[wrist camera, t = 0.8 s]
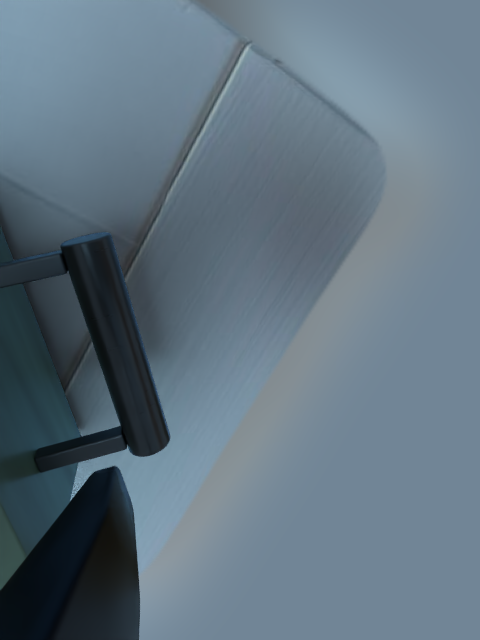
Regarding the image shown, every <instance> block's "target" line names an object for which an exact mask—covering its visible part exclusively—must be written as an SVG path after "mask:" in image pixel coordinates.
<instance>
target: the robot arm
mask: <svg viewBox="0 0 480 640" xmlns="http://www.w3.org/2000/svg"><path fill="white" fill-rule="evenodd" d="M139 622H140V592H139V576H138V563H137V550H136V537H135V524H134V512H133V507H132V502H131V499H130V496H129V494H128V491H127V488H126V485H125V482H124V480H123V477H122V474H121V472H120V470H119V468H118V467H116V466H112V467H109V468H105V469H102V470H98V471H95V472H94V473H93V474H92V475H91V476H90V477H89V478H88V480H87V481H86V482H85V483H84V485H83V486H82V487H81V488H80V490H79V491H78V492H77V494H76V495H75V496H74V497H73V499H72V500H71V501H70V502H69V504H68V505H67V506H66V508H65V509H64V510H63V511H62V513H61V514H60V515H59V516H58V518H57V519H56V520H55V522H54V523H53V524H52V525H51V527H50V528H49V529H48V530H47V532H46V533H45V534H44V536H43V537H42V538H41V539H40V541H39V542H38V543H37V544H36V546H35V547H34V548H33V550H32V551H31V552H30V553H29V555H28V556H27V557H26V558H25V560H24V561H23V562H22V564H21V565H20V566H19V567H18V569H17V570H16V571H15V572H14V574H13V575H12V576H11V578H10V579H9V580H8V581H7V583H6V584H5V585H4V586H3V588H2V589H1V590H0V640H139Z"/></svg>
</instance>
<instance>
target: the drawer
mask: <svg viewBox="0 0 480 640" xmlns="http://www.w3.org/2000/svg"><path fill="white" fill-rule="evenodd" d="M60 248H61V250H58V251H54V252H49V253H45V254H40V255H35V256H31V257H26V258H22V259H17V260H13V257H12V255H11V252H10V249H9V247H8V244H7V242H6V239H5V236H4V234H3V231H2V229H1V226H0V590H1V589H2V588H3V586H4V585H5V584H6V583H7V581H8V580H9V579H10V578H11V576H12V575H13V574H14V572H15V571H16V570H17V569H18V567H19V566H20V565H21V564H22V562H23V561H24V560H25V558H26V557H27V556H28V555H29V553H30V552H31V551H32V550H33V548H34V547H35V546H36V544H37V543H38V542H39V541H40V539H41V538H42V537H43V536H44V534H45V533H46V532H47V530H48V529H49V528H50V527H51V525H52V524H53V523H54V522H55V520H56V519H57V518H58V516H59V515H60V514H61V513H62V511H63V510H64V509H65V508H66V506H67V505H68V504H69V502H70V498H71V494H72V489H73V484H74V480H75V475H76V471H77V466H78V462H82V461H86V460H89V459H93V458H96V457H100V456H104V455H107V454H111V453H114V452H118V451H122V450H125V449H126V448H127V445H128V448H129V451H130V452H131V453H132V454H133V455H135V456H139V457H144V456H150V455H153V454H155V453H158V452H159V451H161V450H162V449H164V448H165V447H166V446H167V444H168V443H169V441H170V433H169V430H168V426H167V423H166V420H165V416H164V413H163V409H162V406H161V402H160V399H159V396H158V392H157V389H156V385H155V382H154V379H153V375H152V372H151V368H150V365H149V362H148V358H147V355H146V351H145V348H144V344H143V341H142V338H141V334H140V331H139V327H138V324H137V321H136V317H135V314H134V310H133V307H132V304H131V300H130V297H129V293H128V290H127V286H126V283H125V280H124V276H123V273H122V269H121V266H120V263H119V259H118V256H117V252H116V249H115V246H114V242H113V239H112V235H111V234H110V233H107V232H101V233H94V234H89V235H85V236H81V237H77V238H74V239H71V240H68V241H65V242H63V243H62V244H61V245H60ZM68 271H69V274H70V277H71V280H72V283H73V286H74V289H75V292H76V295H77V298H78V301H79V304H80V307H81V310H82V313H83V316H84V319H85V322H86V324H87V327H88V330H89V333H90V336H91V339H92V342H93V345H94V348H95V351H96V354H97V357H98V360H99V363H100V366H101V369H102V372H103V375H104V378H105V380H106V383H107V386H108V389H109V392H110V395H111V398H112V401H113V404H114V407H115V410H116V413H117V416H118V419H119V422H120V425H121V426H119V427H115V428H112V429H108V430H104V431H101V432H97V433H93V434H90V435H86V436H82V437H81V435H80V432H79V430H78V427H77V424H76V422H75V419H74V417H73V414H72V411H71V409H70V406H69V403H68V401H67V398H66V396H65V393H64V390H63V388H62V385H61V383H60V380H59V377H58V375H57V372H56V370H55V367H54V364H53V362H52V359H51V356H50V354H49V351H48V349H47V346H46V343H45V341H44V338H43V336H42V333H41V330H40V328H39V325H38V323H37V320H36V317H35V315H34V312H33V309H32V307H31V304H30V302H29V299H28V296H27V294H26V291H25V289H24V286H23V283H28V282H32V281H36V280H41V279H45V278H50V277H54V276H59V275H63V274H66V273H67V272H68Z"/></svg>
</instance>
